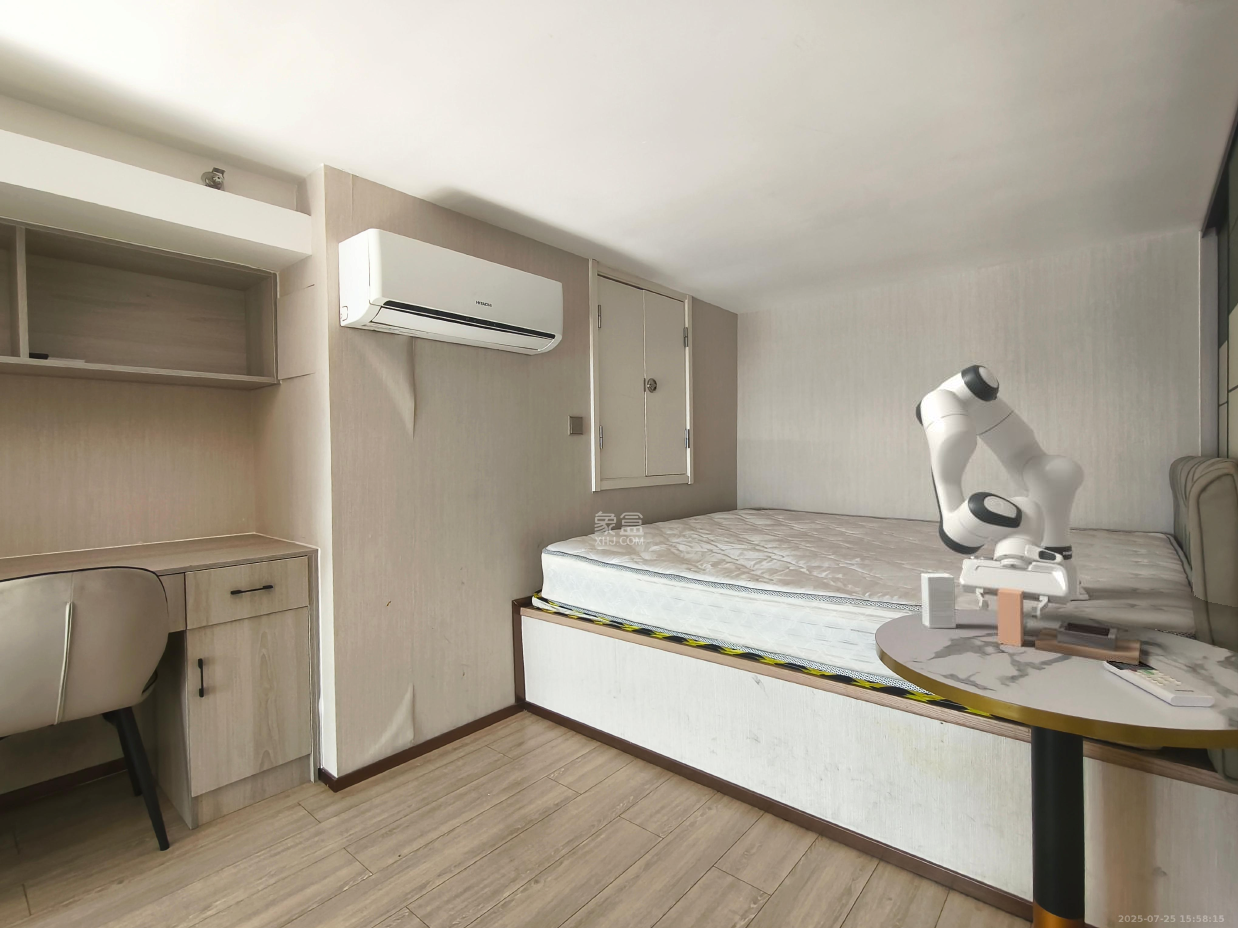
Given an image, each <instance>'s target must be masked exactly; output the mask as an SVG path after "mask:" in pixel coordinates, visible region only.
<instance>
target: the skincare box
mask: <svg viewBox="0 0 1238 928" xmlns="http://www.w3.org/2000/svg"><path fill="white" fill-rule="evenodd" d="M920 576H921V577H920V578H921V579H920V581H921V583H920V584H921V585H920V587H921V609H922V610H921V612H922V615H921V616H922V625H925V626H926V627H927V628H929V629H955V628H957V626H956V625H957V624H956V622H957V620H956V619H957V618H956V582H955V580H956V579H955V578H956V577H955V576H953V575H951V574H950V573H946V572H944V573H939V572H938V573H932V572H931V573H921V574H920Z"/></svg>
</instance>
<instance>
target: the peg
mask: <svg viewBox="0 0 1238 928" xmlns="http://www.w3.org/2000/svg"><path fill="white" fill-rule="evenodd" d="M1024 618H1025V616H1024V600H1023V590H1014V589H1005V588H1001V589H1000V590H999V591H998V596H997V643H998V644H1001V643H1003V644H1002V645H1007V646H1013V645H1014V647H1018V648H1019V647H1020V648H1021V647H1022V645H1023V644H1024V642H1025V641H1024V640H1025V635H1024V634H1025V632H1024V629H1025V628H1024V627H1025V626H1024V625H1025V622H1024Z"/></svg>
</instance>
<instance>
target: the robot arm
mask: <svg viewBox="0 0 1238 928" xmlns="http://www.w3.org/2000/svg"><path fill="white" fill-rule="evenodd" d="M999 392H1000V383H999V381H998V379H997V377H996V375H995V374H994V372H992V371H990V369H988V367H986V366H984V365H979V364H973V365H971V366H968V367H965V368H964V369H962V370H961V372H958V373H957V374H955V375H954V376H951V377H950V378H949V379H946V380H945V381H944V382H942V383H941V384H940V386H938V387H936V389H934V390H932V391H931V392H929V393H927V394H926V395H924V397H923V398H922V399H921V400H920V401H919V403H918V404H917V406H916V407H915V417H916V420H917V422H918V423H919V424H920V425H921V426H922V427H923V429H924V433H925V437H926V440H927V443H928V448H929V455H930V469H931V477H932V485H933V488H934V489H933V490H934V494H935V499H936V504H937V507H938V513H939V525H938V534H939V538H940V539H941V542H942V543H943V544H944V545H945V547H947V549H949V550H951V551H953V552H954V553H957V554H961V555H966V556H968V555H971V556H970V557H967V558H965V559H963V561H962V565H961V568H962V571H961V573H960V575H959V578H958V579H959V580H958V582H959V586H960V588H961V590H962V591H963V592H964V593H967V594H974V595H976V598H977V600H978V601H979V602H978V603H979V604H978V608H979V611H983V612H988V611H989V607H990V604H989V601H988V600H986V599H985V596H991V597H998V591H999V590H1000V589H1001V588H1005V589H1014V590H1023V601H1030V602H1037V603H1039V604H1038V605H1037V606H1031V610H1030V613H1031V614H1030V615H1031V618H1033V619H1039V620H1040V619H1041V617H1042V613H1043V612H1044V611H1046V609H1048V608H1049V605H1050V604H1053V605H1062V606H1065V605H1068V604H1069V603H1070V602H1071V601H1073V600H1076V601H1077V600H1080V601H1081V600H1085V601H1086V600H1089V599H1090V598H1089V595H1088V594H1087V592H1086V591H1085V589H1084V588H1083V587H1082V586H1081V584H1082V581H1081V580H1080V579H1079V574H1080V573H1079V567H1078V566H1077V565H1076V564H1075V563H1073V560H1072V559H1073V553H1074V551H1073V546H1072V545H1071V536H1070V535H1071V515H1072V514H1071V513H1072V509H1073V505H1074V503H1075V502H1074V501H1075V499H1076V494H1077V491H1078V490H1079V489H1080V488H1081V486H1082V485H1083V484H1084V480H1085V472H1084V469H1083V467H1082V465H1081V464H1080V463H1078V462H1077V461H1075V460H1074V459H1072V458H1070V457H1068V456H1065V455H1062V454H1049V453H1047V452H1046V451H1045V450H1044V449H1043V447H1041V445H1040V444H1039V442H1038V440H1037V438H1036V436H1035V433H1034V430H1033V429H1032V428H1031V427H1030V425H1029V424H1028V423H1027V422H1025V420H1024V419H1023V418H1022V417H1021V416H1020V415H1019V414H1018V413H1017V412H1016V410H1014V409H1013V408H1012V407H1011V406H1010V405H1009V404H1008V403H1007V402H1006V400H1005V401H1004V399H1003V398H1001V397H1000V396H999V395H998V394H999ZM978 438H979V439H980V440H981V441H982V442H983V444H985V445H986V447H988V448H989V449H990V451H991V452H992V453H993V454H994V455H995V456H996V457H997V459H998V461H1000V463H1001V465H1002V466H1003V468H1004V469H1005V471H1006V472H1007V474H1008V475H1009V478H1010V480H1011V481H1012V483H1013V484H1014V485H1015V486H1016V487H1018V488H1019V489H1021V490H1022V491H1025V492H1028V496H1027V497H1026V496H1013V497H1003V496H1000V495H999V494H995V493H992V492H987V491H978V492H977V491H976V492H975V493H973V494H971V495H970V496H969V497H968V498H967V499H965V496H964V493H963V488H962V482H963V481H962V479H963V475H964V472H965V469H966V468H967V466H968V464H969V461H970V460H971V458H972V456H973V455H974V453H975V451H976V449H977V445H978ZM990 540H992V541H994V542H995V547H994V553H993V557H991V556H990V557H989V556H977V555H975V554H976V553H978V552H979V551H980V550H981V549H982V548H983V547H984V545H986V543H988V541H990Z"/></svg>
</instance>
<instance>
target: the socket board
mask: <svg viewBox="0 0 1238 928" xmlns="http://www.w3.org/2000/svg"><path fill="white" fill-rule="evenodd" d="M1034 649H1035V650H1039V651H1045V652H1050V653H1056V654H1062V655H1066V656H1067V655H1068V656H1074V657H1080V658H1085V659H1086V658H1088V659H1092V660H1097V661H1103V662H1104V661H1105V662H1109V661H1116V662H1123V663H1132V664H1137V665H1138V664H1139V663H1140V662H1139V661H1140V650H1141V640H1134V639H1127V638H1121V637H1118V628H1117V627H1112V626H1104V625H1098V624H1097V625H1096V624H1089V623H1081V622H1074V621H1069V620H1068V621H1067V620H1066V621H1065V620H1062V621H1061V622H1060V624H1059V627H1058V628H1052V627H1043V628H1042V630H1041V631H1040V633H1039V635H1038V636H1037V638H1036V640H1035V641H1034ZM1106 660H1108V661H1106ZM1138 666H1139V665H1138Z"/></svg>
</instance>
